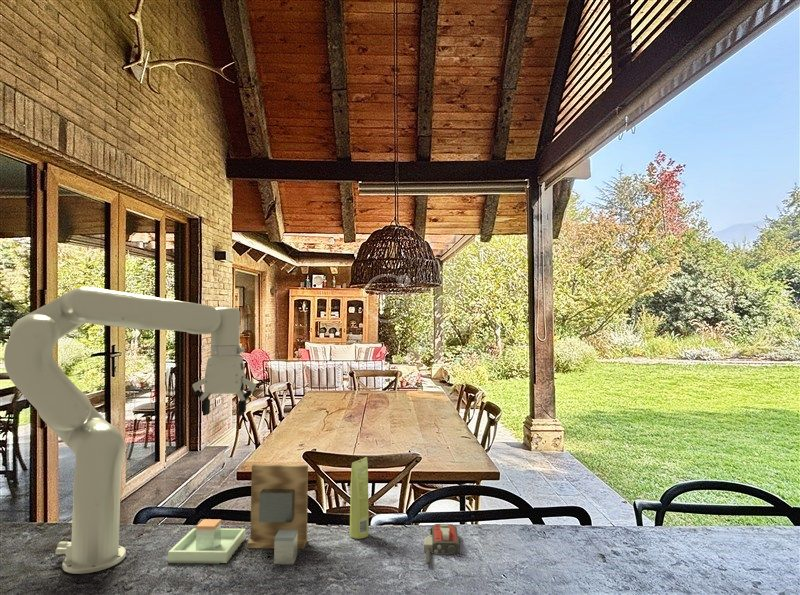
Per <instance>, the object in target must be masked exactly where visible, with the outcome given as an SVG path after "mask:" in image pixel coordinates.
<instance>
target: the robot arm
mask: <svg viewBox="0 0 800 595" xmlns="http://www.w3.org/2000/svg"><path fill="white" fill-rule="evenodd" d="M240 321H241V312H240V310H239V308H237V307H229V306H228V307H224V306H223V307H214V306H212V305H209V304H208V305H207V304H203V303H202V304H201V303H196V302H189V301H181V300H174V299H167V298H161V297H157V296H150V295H145V294H144V295H143V294H136V293H131V292H124V291H117V290H112V289H106V288H98V287H90V286H82V287H76V288H74V289H71V290H69V291H67V292H66V293H64V294H62V295H61V296H58V297H57V298H56V299H54V300H52V301H50V302H48V303H46V304H44V305H42V306H41V307H39V308H37V309H35V310H33V311H31V312H30V313H28V314H26V315H24V316H23V317H22V316H21V317H20V318H19V319H17V320H16V321H15V322H14V323H13V324H12V326H11V328H10V332H9V333H10V334H9V335H10V336H9V338H8V340H7V342H6V345H5V348H4V354H3V358H4V360H3V361H4V367H5V371H6V373H7V375H8V378H9V379H10V381H11V382H12V383H13V384H14V387H16V389H17V390H18V391H19V392H20V393H21V394H22V395H23V396H24V398H26V400H27V401H28V402H29V403H30V404H31V405H32V406H33V407H34V409H35V410H36V411H37V412H38V415H39V417H40V418H41V419H42V421H43V422H44V423H45V424H46V425H47V426H48V427H49V428H50V429H51V430H52V431H53V433H55V435H57V437H59V439H60V440H61V441H62V442H63V443H64V444H65V445H66V446H67V447H68V448H69V450H71V452H73V454H74V455H75V466H74V474H73V485H72V486H73V488H72V516H71V517H72V518H71V541H68V540H67V541H64V540H63V541H62V540H60V541H59V542H58V543H57V546H56V549H55V554H56V555H65V558H64V559H63V561H62V564H61V565H62V566H61V568H62V570H63V571H64V572H66V573H68V574H74V575H78V574H79V575H83V574H92V573H95V572H96V573H97V572H101V571H103V570H104V571H105V570H106V569H110V568H112V567H113V566H116V565H118V564H119V563H121V562H122V561H123V560H124V559H125V558H126V555H127V549H126V548H125V547H124V546H121V545H120V517H121V515H120V513H121V487H122V486H121V484H122V481H121V480H122V469H123V468H122V467H123V462H124V455H125V441H124V440H125V439H124V437H123V434H122V433H121V431H120V430H119V429H118V428H117V427H116V426H115V425H113V424H112V423H109V422H108V421H107V420H106V419H105V418H104V417H103V416H102V415H101V414H100V412H99V411H98V410H97V409H96V408H95V407H94V406H93V405H92V404H91V401H90V399H89V397H88V396H87V395H86V393H85V392H83V391H82V390H81V389H79V388H78V386H76V384H74V383H73V382H72V380H71V379H70V378H69V376H68V375H66V372H64V371H63V370H62V368H61V367H60V366H59V364H58V363H57V362H56V361H55V358H54V348H55V346H56V345H57V343H58V342H59V340H60V339H61V338H63V337H65V336H67V335H68V334H70V333H72V332H73V331H75V330H76V329H78V328H80V327H82V326H83V325H85V324H91V325H100V326H109V327H118V328H126V329H134V330H143V331H149V330H150V331H153V330H157V331H158V330H161V331H162V330H165V331H173V332H174V331H176V332H184V333H185V332H186V333H187V334H190V335H191V334H192V335H210V356H209V357H207V360H206V365H205V370H204V378H202V379H199V380H198V381H197V382H194V383H193V384H192V389H193V391H194V393H195V395H196V396H197V397H198V398H199V400H200V401H201V409H200V410H201V413H202V416H204V417H205V416H207V415H209V414H210V411H211V400H210V396H211V395H236V396H237V397H238V398H239V400H238V402H237V415H238V416H239V417H240V416H243V415H245V413H246V411H247V399H248V398H249V397H250V396H252V395H253V393H254V390H255V389H256V386H257V384H256V383H255V382H253V381H251V380H249V379H247V377H245V376H246V375H245V364H244V358H243V357H242V356H240V355H241V354H242V353H245V348H244V347H241V345H240V334H241V333H240V331H241V330H240V329H241V322H240ZM201 386H203V390H202V389H201ZM246 386H247V387H248V389H247V390H246V392H245V389H246Z"/></svg>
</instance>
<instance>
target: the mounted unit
mask: <svg viewBox="0 0 800 595" xmlns="http://www.w3.org/2000/svg"><path fill="white" fill-rule="evenodd" d="M308 472H309V465H308V464H252V465H251V486H250V488H251V490H250V492H251V493H250V495H251V496H250V538H249V540H248V541H247V543H246V545H247V546H246V547H247V548H246V549H274V537H275V536H276V534H277V533H278V531H279V530H298V539H297V550H300V549H303V550H304V549H305V547H306V545H307V543H308V498H309V497H308V492H309V491H308V488H309V487H308V486H309V485H308V484H309V483H308V482H309V479H308V478H309V476H308V475H309V473H308Z"/></svg>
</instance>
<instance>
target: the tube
mask: <svg viewBox="0 0 800 595" xmlns="http://www.w3.org/2000/svg"><path fill="white" fill-rule="evenodd" d="M368 464H369V463H368V456H365V457H363V458H361V459H359V460H356V461H353V462H352V463H351V468H350V470H351V473H350V474H351V475H350V504H349V505H350V506H349V508H350V509H349V536H350V537H351V538H352V539H356V540H358V539H359V540H360V539H365V538H367V537H368V536H369V534H370V532H369V531H370V528H369V527H370V526H369V525H370V522H369V521H370V520H369V519H370V518H369V511H370V510H369V471H368V470H369V468H368V467H369V465H368Z"/></svg>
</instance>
